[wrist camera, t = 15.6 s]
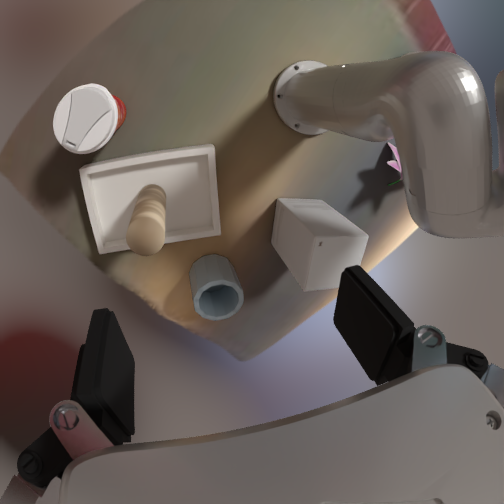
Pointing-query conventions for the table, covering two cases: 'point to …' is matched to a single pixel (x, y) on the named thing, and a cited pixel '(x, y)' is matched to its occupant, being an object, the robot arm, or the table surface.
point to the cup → (215, 287)
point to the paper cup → (87, 118)
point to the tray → (159, 173)
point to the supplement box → (316, 242)
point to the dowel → (148, 221)
